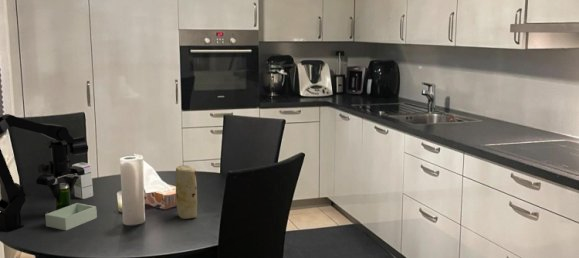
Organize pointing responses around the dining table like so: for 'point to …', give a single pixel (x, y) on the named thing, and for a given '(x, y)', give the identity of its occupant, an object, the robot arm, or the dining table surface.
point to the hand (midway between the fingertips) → (62, 197)
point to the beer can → (63, 196)
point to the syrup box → (83, 182)
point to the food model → (186, 192)
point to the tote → (71, 216)
